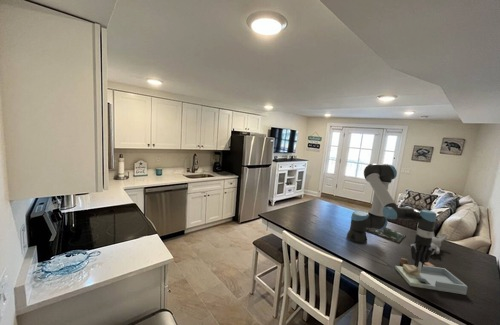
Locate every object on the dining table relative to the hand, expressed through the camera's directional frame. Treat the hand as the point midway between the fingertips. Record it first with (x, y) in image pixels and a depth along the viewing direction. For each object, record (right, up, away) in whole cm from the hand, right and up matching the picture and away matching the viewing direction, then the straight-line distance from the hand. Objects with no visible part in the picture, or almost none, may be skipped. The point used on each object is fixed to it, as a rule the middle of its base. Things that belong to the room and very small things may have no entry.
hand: (417, 271), depth 125 cm
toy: (+41, -2, +35) cm, 54 cm away
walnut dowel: (-2, -2, +9) cm, 10 cm away
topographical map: (+18, +3, +62) cm, 65 cm away
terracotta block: (+13, -3, +8) cm, 16 cm away
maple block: (-4, -1, +1) cm, 4 cm away
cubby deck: (+2, -4, -3) cm, 5 cm away
